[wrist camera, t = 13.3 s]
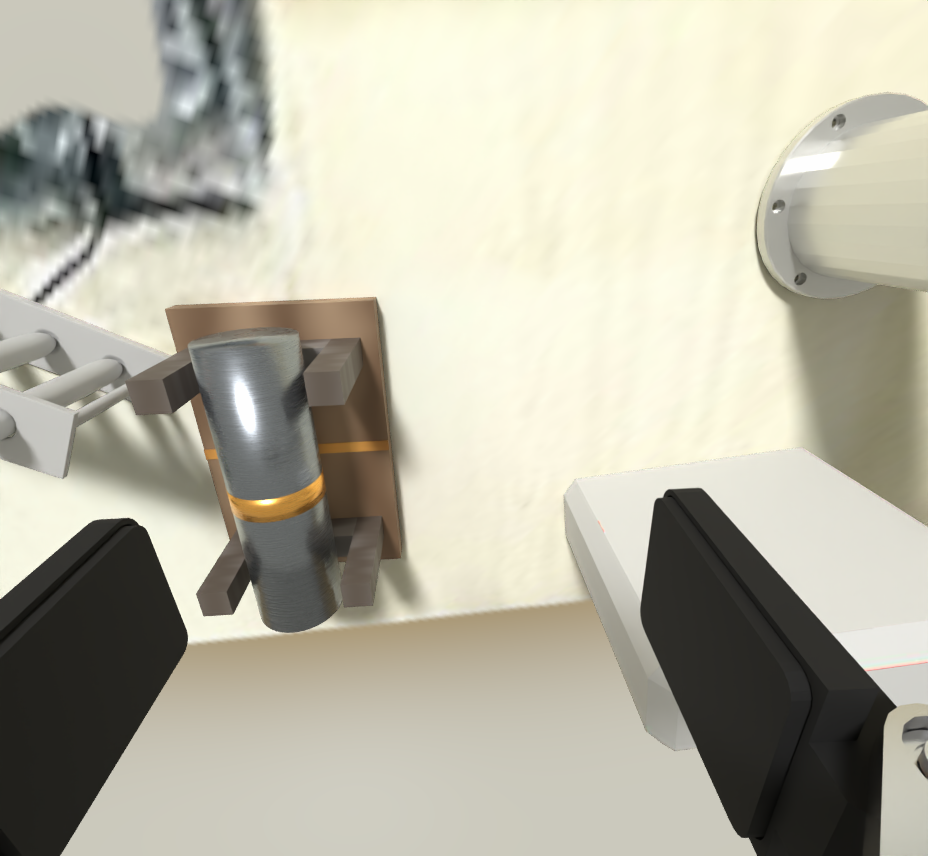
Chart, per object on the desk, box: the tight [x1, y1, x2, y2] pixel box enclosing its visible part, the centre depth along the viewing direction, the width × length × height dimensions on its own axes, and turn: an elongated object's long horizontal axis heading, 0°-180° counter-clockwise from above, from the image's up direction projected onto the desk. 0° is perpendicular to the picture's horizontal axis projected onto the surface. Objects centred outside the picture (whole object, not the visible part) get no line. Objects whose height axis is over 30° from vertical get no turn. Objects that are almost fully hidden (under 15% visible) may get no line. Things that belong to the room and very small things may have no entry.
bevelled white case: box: [564, 447, 928, 751], centre depth 33 cm, size 21×8×20 cm, turn 97°
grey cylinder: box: [188, 327, 343, 633], centre depth 32 cm, size 6×20×6 cm, turn 2°
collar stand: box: [125, 297, 402, 616], centre depth 34 cm, size 14×22×10 cm, turn 2°
